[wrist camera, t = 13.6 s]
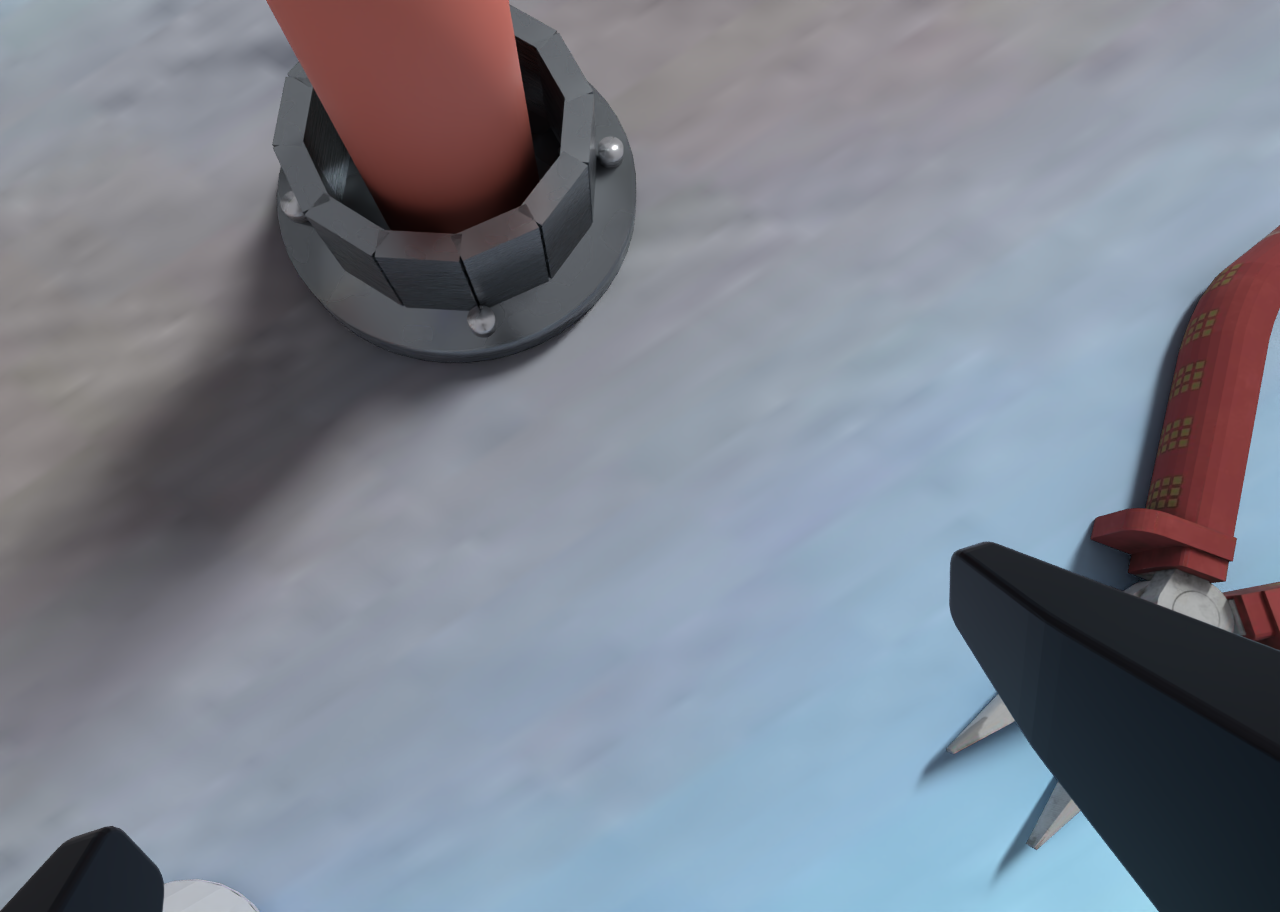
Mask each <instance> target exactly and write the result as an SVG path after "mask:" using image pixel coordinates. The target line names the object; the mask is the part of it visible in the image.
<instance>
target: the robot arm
mask: <svg viewBox="0 0 1280 912" xmlns="http://www.w3.org/2000/svg"><path fill="white" fill-rule="evenodd" d="M949 605H950V612H951V615H952V618H953V621H954V623H955V625H956V627H957V629H958V630H959V632H960V633H961V635H962V637H963V638H964V640H965V642H966V643H967V645H968V646H969V648H970V650H971V651H972V653H973V654H974V656H975V658H976V659H977V661H978V662H979V664H980V666H981V667H982V669H983V670H984V672H985V674H986V675H987V677H988V679H989V680H990V682H991V683H992V685H993V687H994V688H995V690H996V691H997V693H998V695H999V696H1000V698H1001V699H1002V701H1003V703H1004V704H1005V706H1006V708H1007V709H1008V711H1009V712H1010V714H1011V716H1012V717H1013V719H1014V720H1015V722H1016V724H1017V725H1018V727H1019V728H1020V730H1021V731H1022V733H1023V734H1024V736H1025V737H1026V739H1027V740H1028V742H1029V743H1030V745H1031V746H1032V748H1033V749H1034V750H1035V752H1036V753H1037V754H1038V756H1039V757H1040V759H1041V760H1042V761H1043V763H1044V764H1045V765H1046V767H1047V768H1048V769H1049V770H1050V772H1051V773H1052V774H1053V776H1054V777H1055V778H1056V780H1057V781H1058V782H1059V783H1060V785H1061V786H1062V787H1063V789H1064V790H1065V791H1066V792H1067V794H1068V795H1069V796H1070V798H1071V799H1072V800H1073V801H1074V803H1075V804H1076V805H1077V807H1078V808H1079V809H1080V811H1081V812H1082V813H1083V814H1084V816H1085V817H1086V818H1087V820H1088V821H1089V822H1090V823H1091V825H1092V826H1093V827H1094V829H1095V830H1096V831H1097V832H1098V834H1099V835H1100V836H1101V838H1102V839H1103V840H1104V842H1105V843H1106V844H1107V845H1108V847H1109V848H1110V849H1111V851H1112V852H1113V853H1114V854H1115V856H1116V857H1117V858H1118V860H1119V861H1120V862H1121V863H1122V865H1123V866H1124V867H1125V869H1126V870H1127V871H1128V872H1129V874H1130V875H1131V876H1132V878H1133V879H1134V880H1135V882H1136V883H1137V884H1138V885H1139V887H1140V888H1141V889H1142V891H1143V892H1144V893H1145V894H1146V896H1147V897H1148V898H1149V900H1150V901H1151V902H1152V903H1153V905H1154V906H1155V907H1156V909H1157V910H1158V911H1159V912H1280V650H1277V649H1274V648H1272V647H1269V646H1266V645H1264V644H1261V643H1258V642H1256V641H1253V640H1250V639H1248V638H1245V637H1243V636H1240V635H1237V634H1235V633H1232V632H1229V631H1227V630H1224V629H1221V628H1219V627H1216V626H1213V625H1211V624H1208V623H1206V622H1203V621H1200V620H1198V619H1195V618H1192V617H1190V616H1187V615H1184V614H1182V613H1179V612H1176V611H1174V610H1171V609H1169V608H1166V607H1163V606H1161V605H1158V604H1155V603H1153V602H1150V601H1147V600H1145V599H1142V598H1139V597H1137V596H1134V595H1132V594H1129V593H1126V592H1124V591H1121V590H1118V589H1116V588H1113V587H1110V586H1108V585H1105V584H1102V583H1100V582H1097V581H1095V580H1092V579H1089V578H1087V577H1084V576H1081V575H1079V574H1076V573H1073V572H1071V571H1068V570H1065V569H1063V568H1060V567H1058V566H1055V565H1052V564H1050V563H1047V562H1044V561H1042V560H1039V559H1036V558H1034V557H1031V556H1028V555H1026V554H1023V553H1021V552H1018V551H1015V550H1013V549H1010V548H1007V547H1005V546H1002V545H999V544H997V543H993V542H982V543H978V544H975V545H972V546H969V547H966V548H963V549H960V550H957V551H956V552H954V554H953V555H952V557H951V562H950V597H949ZM163 903H164V882H163V878H162V875H161V872H160V870H159V868H158V867H157V866H156V865H155V864H154V863H153V862H152V860H151V859H150V858H149V857H148V856H147V855H146V854H145V853H144V852H143V851H142V850H141V849H140V848H139V847H138V846H137V845H136V844H135V843H134V842H133V841H132V839H131V838H130V837H129V836H128V835H127V834H126V833H125V832H124V831H123V830H121V829H120V828H116V827H113V826H109V827H104V828H100V829H97V830H94V831H91V832H88V833H85V834H82V835H79V836H76V837H73V838H71V839H69V840H67V841H66V842H65V843H63V844H62V845H61V846H60V847H59V848H58V849H57V850H56V851H55V852H54V853H53V854H52V855H51V856H50V858H49V859H48V860H47V861H46V862H45V863H44V864H43V865H42V866H41V867H40V868H39V869H38V871H37V872H36V873H35V874H34V875H33V876H32V877H31V878H30V879H29V880H28V881H27V883H26V884H25V885H24V886H23V887H22V888H21V889H20V890H19V891H18V892H17V893H16V894H15V896H14V897H13V898H12V899H11V900H10V901H9V902H8V903H7V904H6V905H5V906H4V908H3V909H2V910H1V911H0V912H163Z"/></svg>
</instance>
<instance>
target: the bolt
mask: <svg viewBox="0 0 1280 912" xmlns="http://www.w3.org/2000/svg"><path fill="white" fill-rule="evenodd" d="M163 912H260V911H259V910H258V909H257V907H256V906H255V905H254V904H253V903H251V902H250V901H249V900H248V899H247V898H245V897H244V896H243V895H242V894H241V893H239V892H237V891H235V890H233V889H231V888H229V887H227V886H225V885H223V884H221V883H216V882H211V881H206V880H200V879H192V880H179V881H172V882H169V883H166V884H164V903H163Z"/></svg>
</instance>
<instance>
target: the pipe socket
mask: <svg viewBox="0 0 1280 912" xmlns="http://www.w3.org/2000/svg"><path fill="white" fill-rule="evenodd" d="M509 6H510V12H511V18H512V24H513V29H514V35H515V41H516V47H517V53H518V59H519V64H520V70H521V76H522V82H523V88H524V93H525V99H526V105H527V111H528V117H529V123H530V128H531V134H532V140H533V146H534V152H535V158H536V163H537V169H538V175H539V183H538V184H537V186H536V187H535V188H534V189H533V191H532V192H531V193H530V195H529V196H528V197H527V198H526V200H525V201H524V202H523V204H522V205H521V206H519V207H517V208H515V209H513V210H510V211H508V212H506V213H503V214H501V215H499V216H496V217H494V218H492V219H489V220H487V221H485V222H483V223H480V224H478V225H476V226H473V227H471V228H469V229H466V230H464V231H462V232H459V233H457V234H448V233H429V232H411V231H392V230H391V229H390V228H389V226H388V224H387V223H386V221H385V219H384V217H383V216H382V214H381V212H380V210H379V208H378V206H377V204H376V203H375V201H374V199H373V197H372V195H371V193H370V191H369V190H368V188H367V186H366V184H365V182H364V180H363V179H362V177H361V175H360V173H359V171H358V169H357V167H356V166H355V164H354V162H353V160H352V158H351V156H350V154H349V153H348V151H347V149H346V147H345V145H344V143H343V142H342V140H341V138H340V136H339V134H338V132H337V130H336V129H335V127H334V125H333V123H332V121H331V119H330V117H329V116H328V114H327V112H326V110H325V108H324V106H323V105H322V103H321V101H320V99H319V97H318V95H317V93H316V92H315V90H314V88H313V86H312V84H311V82H310V80H309V79H308V77H307V75H306V73H305V71H304V69H303V68H302V66H301V64H300V62H298V63H297V64H296V65H295V66H294V67H293V68H292V69H291V70H290V71H289V72H288V76H289V77H286V78H285V83H284V88H283V93H282V98H281V104H280V109H279V114H278V119H277V124H276V129H275V134H274V139H273V144H272V145H273V146H274V148H273V149H274V152H275V154H276V156H277V158H278V160H279V162H280V165H281V169H280V173H279V180H278V189H277V213H278V220H279V226H280V231H281V236H282V239H283V242H284V244H285V247H286V250H287V253H288V256H289V258H290V259H291V261H292V263H293V265H294V267H295V269H296V270H297V272H298V274H299V276H300V277H301V278H302V280H303V281H304V282H305V284H306V285H307V286H308V288H309V289H310V290H311V291H312V293H313V294H314V295H315V296H316V297H317V299H318V300H319V301H320V302H321V303H322V304H323V306H324V307H325V308H326V309H327V310H328V311H329V312H330V313H331V314H332V315H333V316H334V317H335V318H336V319H337V320H338V321H339V322H341V323H342V324H343V325H345V326H346V327H347V328H349V329H350V330H351V331H353V332H354V333H355V334H357V335H358V336H360V337H362V338H364V339H366V340H367V341H369V342H371V343H373V344H375V345H377V346H379V347H381V348H384V349H387V350H389V351H392V352H394V353H397V354H400V355H404V356H408V357H412V358H416V359H420V360H427V361H436V362H445V363H456V362H476V361H484V360H491V359H496V358H500V357H504V356H508V355H512V354H516V353H518V352H521V351H524V350H526V349H529V348H531V347H534V346H536V345H539V344H541V343H542V342H544V341H546V340H548V339H550V338H552V337H554V336H555V335H557V334H559V333H560V332H562V331H563V330H565V329H566V328H568V327H569V326H570V325H572V324H573V323H575V322H576V321H577V320H578V319H580V318H581V317H582V316H583V315H584V314H585V313H586V312H587V311H588V310H589V309H590V308H591V307H592V306H594V304H595V303H596V302H597V301H598V300H599V298H600V297H601V296H602V295H603V294H604V292H605V291H606V290H607V289H608V287H609V286H610V284H611V282H612V281H613V279H614V278H615V276H616V274H617V273H618V271H619V269H620V267H621V265H622V263H623V260H624V258H625V256H626V253H627V251H628V248H629V244H630V241H631V237H632V233H633V228H634V220H635V212H636V172H635V167H634V161H633V155H632V151H631V148H630V145H629V142H628V139H627V136H626V134H625V132H624V130H623V128H622V126H621V124H620V122H619V120H618V118H617V116H616V115H615V113H614V112H613V110H612V109H611V107H610V106H609V104H608V103H607V101H606V100H605V99H604V98H603V97H602V96H601V95H600V94H599V92H598V91H597V90H596V89H595V88H594V87H593V86H592V85H591V84H590V83H589V82H588V81H587V80H586V78H585V77H584V75H583V73H582V71H581V70H580V68H579V66H578V65H577V63H576V61H575V60H574V58H573V56H572V54H571V53H570V51H569V49H568V48H567V46H566V44H565V43H564V41H563V39H562V37H561V36H560V34H559V33H557V31H556V30H554V29H553V28H551V27H549V26H547V25H545V24H544V23H542V22H540V21H538V20H536V19H535V18H533V17H531V16H529V15H527V14H526V13H524V12H522V11H520V10H518V9H517V8H515V7H513V6H511V5H509Z"/></svg>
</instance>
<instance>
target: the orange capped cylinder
mask: <svg viewBox="0 0 1280 912" xmlns="http://www.w3.org/2000/svg"><path fill="white" fill-rule="evenodd" d="M266 1H267V3H268V5H269V7H270V8H271V10H272V12H273V14H274V16H275V18H276V19H277V21H278V23H279V25H280V27H281V29H282V31H283V32H284V34H285V36H286V38H287V40H288V42H289V44H290V45H291V47H292V49H293V51H294V53H295V55H296V56H297V58H298V60H299V62H300V64H301V66H302V68H303V69H304V71H305V73H306V75H307V77H308V79H309V80H310V82H311V84H312V86H313V88H314V90H315V92H316V93H317V95H318V97H319V99H320V101H321V103H322V105H323V106H324V108H325V110H326V112H327V114H328V116H329V117H330V119H331V121H332V123H333V125H334V127H335V129H336V130H337V132H338V134H339V136H340V138H341V140H342V142H343V143H344V145H345V147H346V149H347V151H348V153H349V154H350V156H351V158H352V160H353V162H354V164H355V166H356V167H357V169H358V171H359V173H360V175H361V177H362V179H363V180H364V182H365V184H366V186H367V188H368V190H369V191H370V193H371V195H372V197H373V199H374V201H375V203H376V204H377V206H378V208H379V210H380V212H381V214H382V216H383V217H384V219H385V221H386V223H387V224H388V226H389V228H390V229H391V230H392V231H411V232H429V233H448V234H457V233H459V232H462V231H464V230H466V229H469V228H471V227H473V226H476V225H478V224H480V223H483V222H485V221H487V220H489V219H492V218H494V217H496V216H499V215H501V214H503V213H506V212H508V211H510V210H513V209H515V208H517V207H519V206H521V205H522V204H523V202H524V201H525V200H526V198H527V197H528V196H529V195H530V193H531V192H532V191H533V189H534V188H535V187H536V186H537V184H538V183H539V175H538V169H537V163H536V158H535V152H534V146H533V140H532V134H531V128H530V123H529V117H528V111H527V105H526V99H525V93H524V88H523V82H522V76H521V70H520V64H519V59H518V53H517V47H516V41H515V35H514V29H513V24H512V18H511V12H510V6H509V0H266Z"/></svg>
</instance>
